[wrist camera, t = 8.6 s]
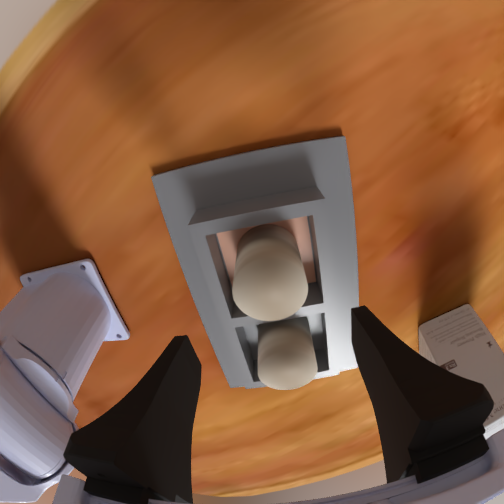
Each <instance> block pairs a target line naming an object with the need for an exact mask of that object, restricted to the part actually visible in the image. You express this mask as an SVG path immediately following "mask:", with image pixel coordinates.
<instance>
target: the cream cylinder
mask: <svg viewBox="0 0 504 504" xmlns="http://www.w3.org/2000/svg"><path fill="white" fill-rule="evenodd" d="M232 294H233V299H234V301H235V303H236V305H237V306H238V308H239V309H240V310H241V311H242V312H243V313H245V314H246V315H248V316H250V317H252V318H254V319H257V320H262V321H276V320H281V319H284V318H287V317H289V316H291V315H293V314H294V313H295V312H297V311H298V310H299V309H300V308H301V307H302V305H303V304H304V302H305V300H306V298H307V295H308V283H307V279H306V275H305V271H304V267H303V263H302V260H301V256H300V252H299V248H298V244H297V242H296V240H295V238H294V236H293V235H292V234H291V233H290V232H289V231H288V230H286V229H285V228H283V227H281V226H278V225H273V224H263V225H259V226H256V227H253V228H252V229H250V230H249V231H247V232H246V233H245V234H244V235H243V236H242V238H241V239H240V241H239V244H238V248H237V256H236V263H235V271H234V279H233V287H232Z"/></svg>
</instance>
